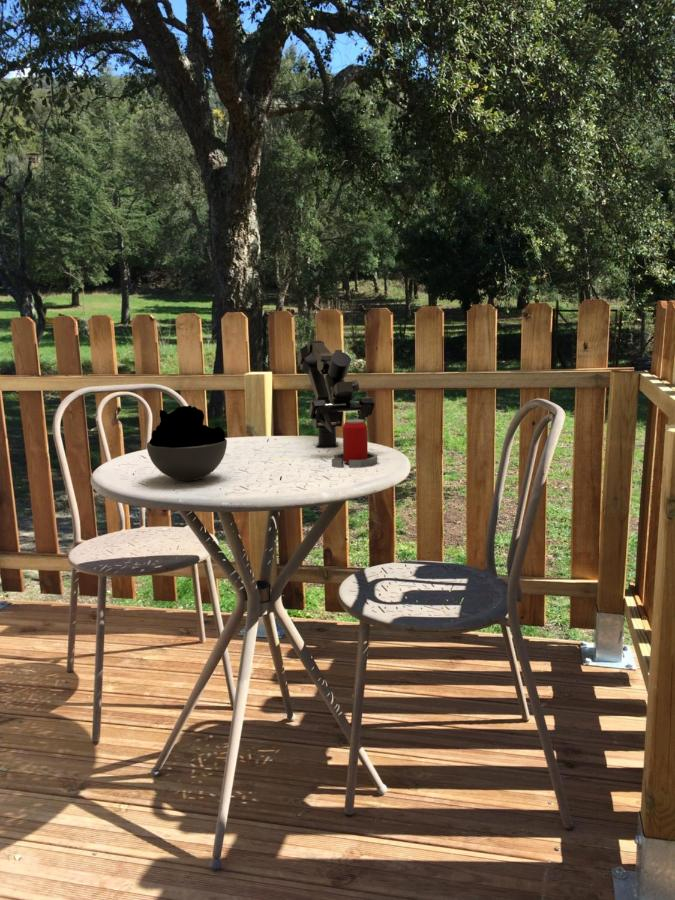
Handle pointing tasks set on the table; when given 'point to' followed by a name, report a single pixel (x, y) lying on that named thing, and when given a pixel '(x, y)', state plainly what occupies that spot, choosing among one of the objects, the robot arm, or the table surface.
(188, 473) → the coal bowl
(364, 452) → the beverage can
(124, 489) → the table surface
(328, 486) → the table surface
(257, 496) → the table surface
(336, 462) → the ring collar
